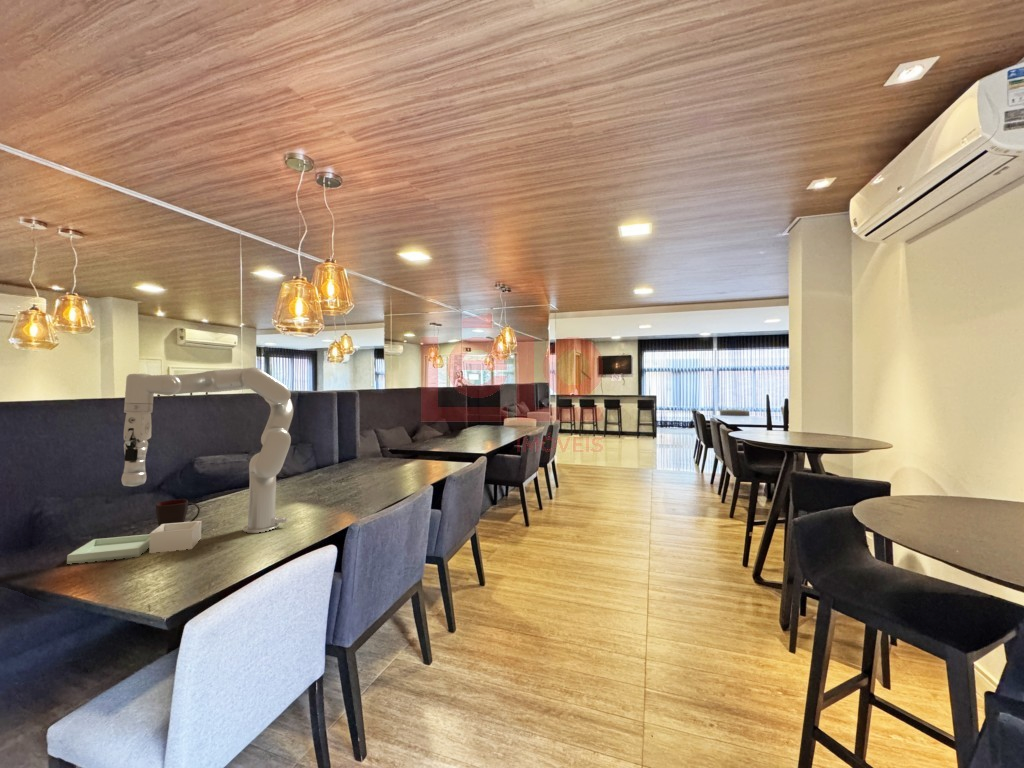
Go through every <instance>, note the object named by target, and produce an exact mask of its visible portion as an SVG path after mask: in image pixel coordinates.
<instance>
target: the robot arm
mask: <svg viewBox="0 0 1024 768" xmlns="http://www.w3.org/2000/svg"><path fill="white" fill-rule="evenodd" d="M241 390H251V391H253V392H254V393H256V394H257V395H259V396H260V397H262V398H263V399H264V401H265V402H266V403H268V405H269V407H270V414H269V416H268V419H267V422H266V425H265V427H264V430H263V432H262V434H261V437H260V443H261V445H262V447H261V450H260V451H259V452H258V453H255V454H254V455H253V456H252V457H251V458H250V460H249V464H248V466H249V467H248V474H249V488H248V489H249V490H248V491H249V492H248V511H247V513H248V514H247V525H244V526H243V528H242V531H243V532H244V533H246V532H247V534H258V533H259V532H261V533H265V531H267V532H270V531H269V530H271V531H273V530H272V529H274V530H276V529H278V528H277V527H279V524H283V523H284V524H285V523H287V519H288V517H284V516H283V517H279V516H278V517H277V514H276V495H277V491H276V490H277V475H278V474H279V473H280V472H281V470H282V468H283V465H284V464H285V460H286V459H287V458H286V457H287V455H288V453H289V449H290V447H291V443H292V442H291V441H292V437H291V435H290V433H289V429H290V426H291V424H292V420H293V417H294V406H293V402H292V399H291V395H292V393H291V390H290V389H289V388H288V387H287V385H285V384H283V383H282V382H280V381H279V380H277V379H276V378H275V377H272V376H271V375H270V374H268V373H267V372H265V371H264V370H262V369H260V368H258V367H253V366H252V367H246V368H244V367H243V368H234V369H233V368H231V369H217V370H216V369H215V370H207V371H202V372H197V373H186V374H173V375H172V374H156V375H155V374H154V375H152V374H146V373H144V374H143V373H130V374H128V375H127V376H126V379H125V394H124V406H123V413H126V414H125V419H124V426H123V427H124V428H123V440H124V443H125V445H126V447H125V453H124V462H125V461H136V460H137V456H138V449H137V445H138V440H139V441H144V440H147V441H148V440H149V439H151V438H152V413H153V408H154V397H155V395H164V396H173V395H181V394H182V395H183V394H192V393H195V394H196V393H220V392H231V391H241ZM131 439H136V440H131ZM275 528H276V529H275ZM259 534H260V533H259Z"/></svg>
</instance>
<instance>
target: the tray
mask: <svg viewBox="0 0 1024 768" xmlns="http://www.w3.org/2000/svg"><path fill="white" fill-rule="evenodd" d="M149 546H150V533H149V534H140V535H139V534H138V535H137V534H136V535H129V536H128V535H127V536H126V535H125V536H117V537H106V538H93V539H92V540H90V541H88V542H86V543H85V544H84V545H82V546H80V547H79V548H76V549H75V550H73V551H72V552H71V553H69V554H67V555H66V556H67V557H66V565H67V564H70V565H73V564H72V563H79V564H86V563H85V562H88V563H94V562H95V561H97V562H105V561H106V560H107V561H114V559H116V560H123V558H125V559H133V558H132V557H135V558H139V557H140V556H141V554H142V553H143V554H144V553H145V552H146V551H148V550H149V549H148V548H149ZM147 549H148V550H147ZM143 554H142V555H143ZM95 563H96V562H95Z"/></svg>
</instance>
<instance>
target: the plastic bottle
mask: <svg viewBox="0 0 1024 768" xmlns="http://www.w3.org/2000/svg"><path fill="white" fill-rule="evenodd" d="M131 440H136V439H131ZM125 447H126V445H125V442H124V444H123V451H124V454H125ZM148 447H149V442H148V440H144V441H139V440H138V445H137V449H138V456H137V460H136V461H125V460H124V467H123V473H122V475H121V479H120V480H121V484H122V485H123V486H124V487H138V486H142V485H144V484H145V483H146V481H147V477H148V476H147V471H146V457H147V456H146V455H147V452H148Z"/></svg>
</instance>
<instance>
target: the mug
mask: <svg viewBox="0 0 1024 768" xmlns="http://www.w3.org/2000/svg"><path fill="white" fill-rule="evenodd" d="M189 505H190V506H191V505H193V506H195V507H196V508H197V514H196V515H195V516H194V517H193V518H192V519H191V520H189V522H193V521H196V519H197V518H198V516H199V515H200V512H201V509H200V506H199V505H198V504H196V503H194V502H189V500H188V499H186V498H179V499H169V500H162V501H159V502H157V503H156V504H155V514H156V519H157V525H158V527H159V526H160V525H162V524H169V523H181V522H186V517H187V512H188V507H189Z"/></svg>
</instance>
